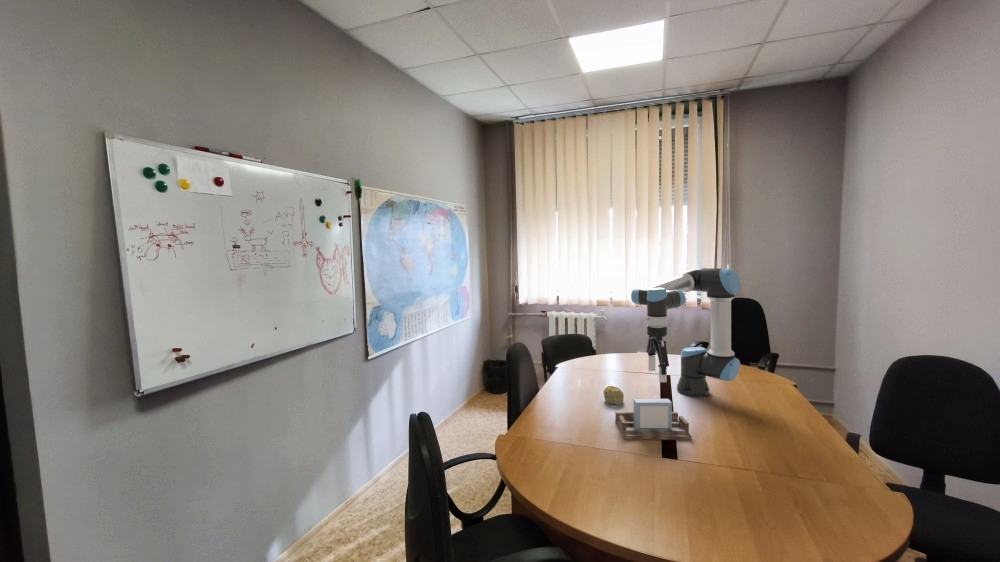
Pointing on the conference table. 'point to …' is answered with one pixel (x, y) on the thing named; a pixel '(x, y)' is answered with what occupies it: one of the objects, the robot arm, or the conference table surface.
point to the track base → (629, 432)
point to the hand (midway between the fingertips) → (657, 376)
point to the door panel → (652, 414)
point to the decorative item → (613, 395)
